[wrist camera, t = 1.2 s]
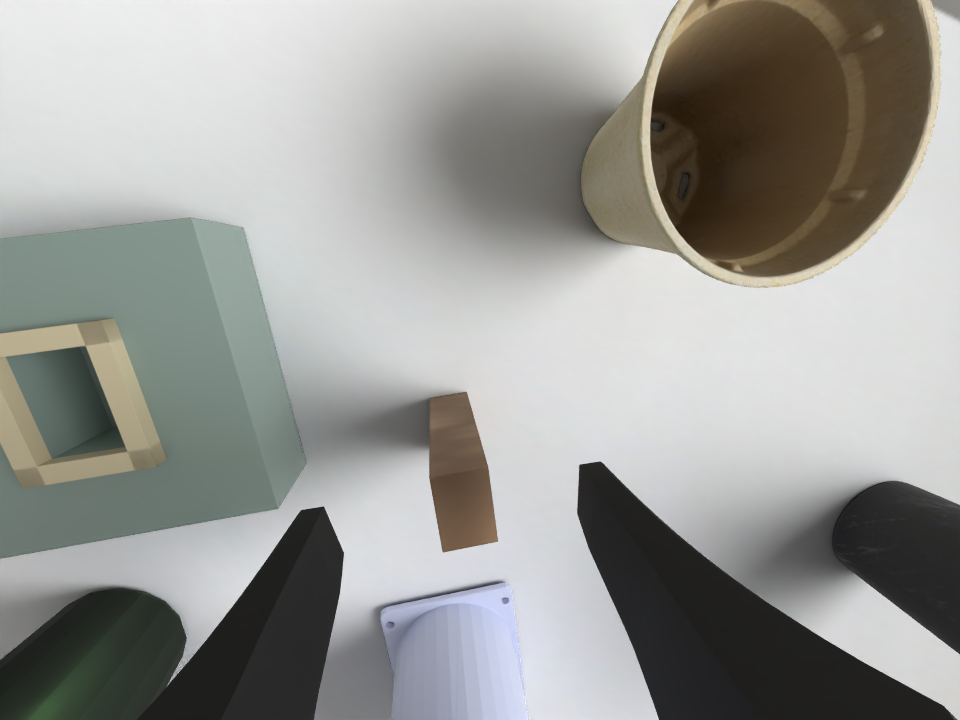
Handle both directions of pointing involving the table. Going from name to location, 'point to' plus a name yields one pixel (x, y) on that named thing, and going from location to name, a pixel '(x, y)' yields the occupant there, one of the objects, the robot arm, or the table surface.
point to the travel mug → (906, 552)
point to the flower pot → (769, 134)
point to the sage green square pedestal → (136, 385)
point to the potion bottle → (94, 660)
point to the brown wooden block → (459, 475)
